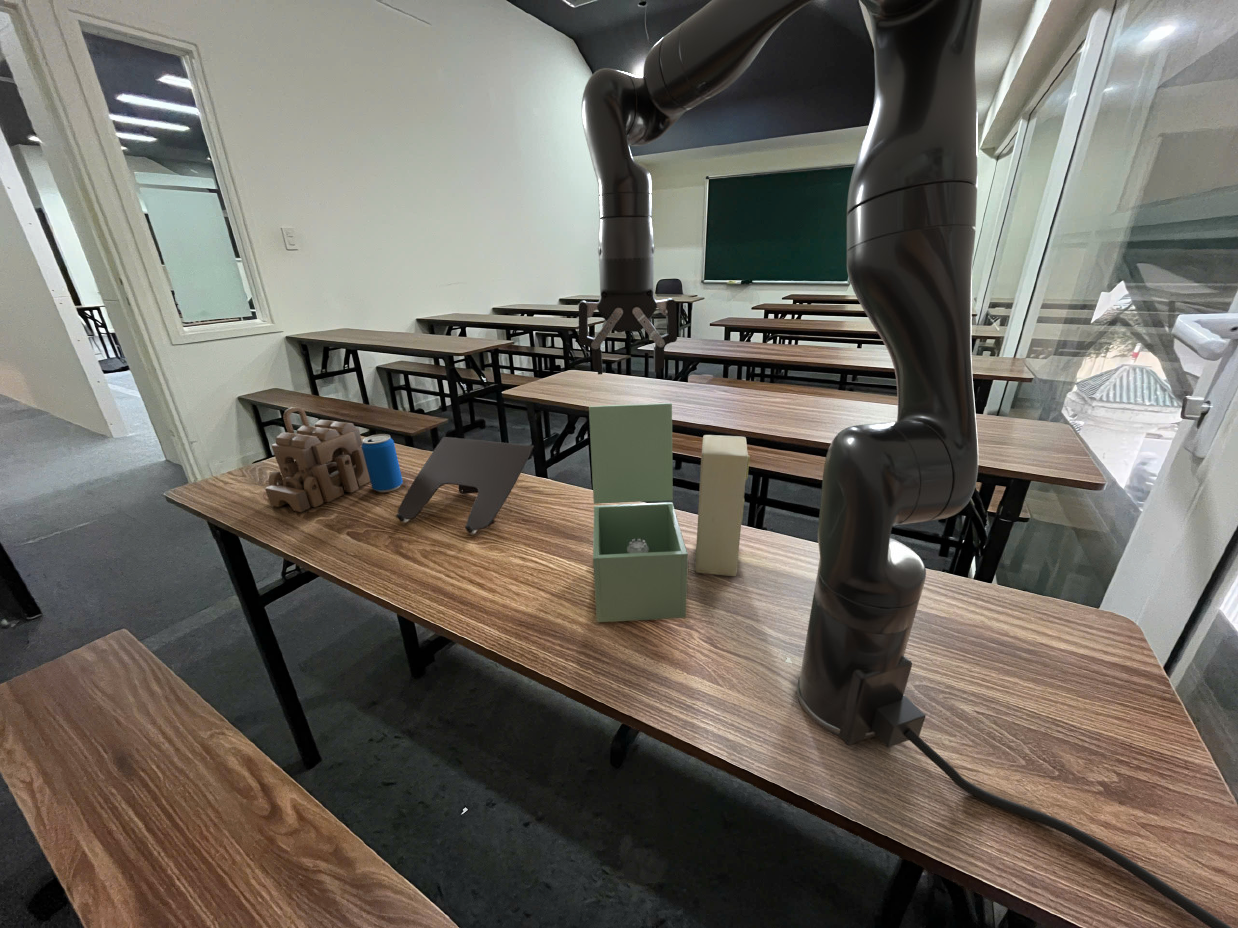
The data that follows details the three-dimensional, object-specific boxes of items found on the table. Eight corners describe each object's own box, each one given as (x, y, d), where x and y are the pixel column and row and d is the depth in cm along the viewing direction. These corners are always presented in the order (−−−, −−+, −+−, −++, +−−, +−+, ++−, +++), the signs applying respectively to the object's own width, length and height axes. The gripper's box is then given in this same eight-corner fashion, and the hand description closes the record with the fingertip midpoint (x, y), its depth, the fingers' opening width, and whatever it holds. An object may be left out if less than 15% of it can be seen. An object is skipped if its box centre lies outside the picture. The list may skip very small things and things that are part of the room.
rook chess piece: (658, 592, 72) (658, 547, 68) (630, 600, 70) (629, 554, 67) (645, 576, 75) (645, 532, 72) (619, 583, 74) (617, 539, 71)
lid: (671, 403, 73) (667, 400, 77) (588, 406, 72) (589, 403, 77) (672, 500, 76) (668, 491, 81) (593, 503, 76) (594, 494, 81)
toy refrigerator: (741, 578, 76) (753, 455, 67) (694, 573, 77) (700, 453, 69) (740, 550, 83) (750, 436, 74) (697, 546, 84) (702, 434, 76)
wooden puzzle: (308, 514, 99) (280, 429, 91) (261, 503, 104) (231, 422, 97) (391, 472, 118) (373, 398, 110) (347, 465, 123) (327, 394, 115)
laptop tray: (404, 539, 100) (381, 514, 93) (456, 457, 114) (439, 430, 107) (501, 556, 93) (483, 530, 86) (543, 466, 107) (531, 438, 100)
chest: (685, 618, 68) (688, 554, 63) (596, 622, 67) (592, 558, 63) (671, 558, 81) (672, 502, 77) (597, 561, 81) (593, 505, 76)
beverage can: (375, 483, 112) (362, 435, 107) (404, 479, 113) (394, 432, 109) (370, 495, 106) (357, 445, 101) (402, 491, 108) (390, 441, 103)
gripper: (674, 253, 69) (672, 365, 76) (575, 256, 69) (582, 368, 76) (681, 254, 62) (678, 377, 69) (572, 257, 62) (579, 380, 69)
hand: (628, 372), depth 72 cm, fingers open, 8 cm apart
